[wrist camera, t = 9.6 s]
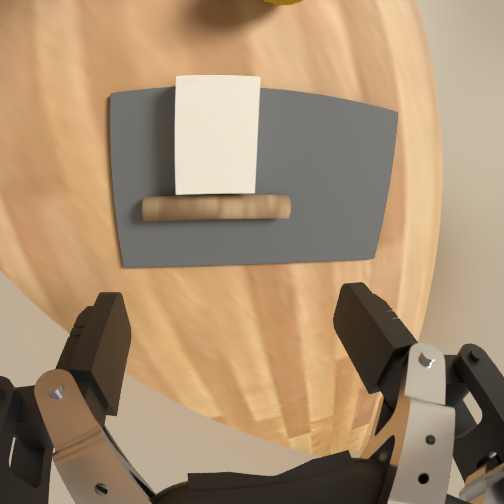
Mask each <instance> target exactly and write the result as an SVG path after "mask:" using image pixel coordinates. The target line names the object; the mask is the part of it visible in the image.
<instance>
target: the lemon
mask: <svg viewBox="0 0 504 504" xmlns="http://www.w3.org/2000/svg"><path fill="white" fill-rule="evenodd" d="M263 1H265V2H268V3H271V4H276V5H291V4H295V3H298V2H301V1H303V0H263Z"/></svg>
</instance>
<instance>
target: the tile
mask: <svg viewBox="0 0 504 504" xmlns="http://www.w3.org/2000/svg"><path fill="white" fill-rule="evenodd" d="M259 98H260V77H253V76H232V75H190V76H176V95H175V185H176V195H183V194H225V193H255V181H256V160H257V139H258V118H259Z"/></svg>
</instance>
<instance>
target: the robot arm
mask: <svg viewBox="0 0 504 504" xmlns="http://www.w3.org/2000/svg"><path fill="white" fill-rule="evenodd" d="M333 323H334V329H335V331H336V333H337V335H338V337H339V339H340V340H341V342H342V344H343V346H344V348H345V350H346V351H347V353H348V355H349V357H350V359H351V361H352V363H353V364H354V366H355V368H356V370H357V372H358V374H359V376H360V378H361V380H362V382H363V383H364V385H365V387H366V389H367V391H368V393H369V394H372V393H376V392H379V391H381V393H382V394H383V396H382V397H381V399H380V402H379V406H378V410H377V414H376V418H375V421H374V425H373V428H372V432H371V435H370V438H369V441H368V443H367V445H366V447H365V449H364V450H363V452H362V454H361V456H360V458H351V455H350V453H349V450H347V451H343V452H340V453H336V454H333V455H329V456H325V457H321V458H317V459H312V460H310V461H308V462H306V463H304V464H302V465H300V466H298V467H295V468H293V469H291V470H289V471H286V472H284V473H282V474H279V475H276V476H261V475H250V474H242V473H234V472H219V473H188V481H186V482H182V483H179V484H176V485H173V486H170V487H168V488H166V489H164V490H163V491H161V492H159V493H157V494H156V493H155V492H154V491H153V490H152V488H151V487H150V486H149V485H148V484H147V483H146V482H145V480H144V479H143V478H142V477H141V476H140V474H139V473H138V472H137V471H136V470H135V468H134V467H133V466H132V465H131V463H130V462H129V461H128V459H127V458H126V456H125V455H124V453H123V452H122V451H121V449H120V448H119V446H118V445H117V443H116V442H115V440H114V439H113V437H112V436H111V434H110V433H109V431H108V430H107V428H106V426H105V425H104V424H105V418H106V415H111V416H117V411H118V405H119V399H120V393H121V387H122V382H123V377H124V372H125V367H126V362H127V357H128V352H129V348H130V343H131V327H130V323H129V319H128V316H127V312H126V308H125V304H124V300H123V296H122V294H121V293H120V292H101V293H99V295H98V297H97V299H96V302H95V304H94V306H87V307H86V308H85V309H84V310H83V311H82V312H81V313H80V314H79V315H78V317H77V319H76V322H75V324H74V328H72V330H71V333H70V337H68V339H67V342H66V344H65V347H64V349H63V352H62V354H61V356H60V359H59V361H58V364H57V366H56V369H54V370H50V371H47V372H46V373H44V374H43V375H42V376H41V377H40V378H39V379H38V380H37V382H36V384H35V385H33V386H26V387H18V388H15V387H14V386H13V384H12V383H11V382H10V380H9V379H8V378H6V377H2V376H0V504H48V497H49V482H50V470H51V462H52V457H53V461H54V463H55V466H56V468H57V470H58V472H59V474H60V476H61V478H62V480H63V482H64V484H65V485H66V487H67V489H68V491H69V492H70V495H71V496H72V498H73V500H74V501H75V503H76V504H504V377H503V375H502V374H501V372H500V371H499V370H498V368H497V367H496V366H495V364H494V363H493V362H492V360H491V359H490V358H489V356H488V355H487V354H486V352H485V351H484V350H483V349H482V348H480V347H479V346H477V345H474V344H465V345H463V346H462V348H461V349H460V351H459V353H458V354H457V355H443V354H442V353H441V351H440V350H439V349H437V348H436V347H435V346H433V345H431V344H428V343H418V342H417V340H416V339H415V338H414V337H413V335H412V334H411V333H410V331H409V330H408V329H407V328H406V326H405V325H404V324H403V323H402V321H401V320H400V319H398V316H397V315H396V314H395V313H394V311H393V312H392V309H391V308H390V306H389V305H388V304H387V303H386V301H384V300H383V299H381V298H380V297H378V296H377V295H376V294H372V292H371V291H370V290H369V289H368V287H367V286H366V285H365V284H364V283H362V282H359V283H347V284H343V286H342V287H341V290H340V294H339V298H338V302H337V306H336V309H335V313H334V318H333ZM469 391H470V392H471V394H472V395H473V397H474V398H475V400H476V402H477V403H478V405H479V407H480V408H481V410H482V420H481V422H480V423H479V424H478V425H477V424H476V422H475V420H474V418H473V417H472V415H471V413H470V412H469V410H468V408H467V406H466V405H465V403H464V401H463V399H464V397H465V396H466V395H467V394H468V393H469ZM13 437H15V438H16V439H15V444H14V449H13V454H12V460H11V466H10V467H9V456H10V451H11V446H12V441H13ZM53 448H55V451H56V452H55V453H53ZM452 456H453V458H454V460H455V462H456V464H457V467H458V469H459V471H460V473H461V476H462V478H463V480H464V483H465V487H464V488H463V489H461V491H460V492H459V498H460V499H459V498H456V497H453V496H451V495H448V494H447V489H448V484H449V478H450V471H451V464H452Z"/></svg>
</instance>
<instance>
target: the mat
mask: <svg viewBox="0 0 504 504" xmlns="http://www.w3.org/2000/svg"><path fill="white" fill-rule="evenodd" d="M175 95H176V87H166V88H153V89H142V90H133V91H125V92H117V93H111V94H110V150H111V169H112V183H113V194H114V204H115V213H116V221H117V228H118V236H119V242H120V249H121V255H122V260H123V266H124V268H139V267H180V266H214V265H245V264H273V263H298V262H322V261H345V260H366V259H374V257H375V253H376V249H377V245H378V240H379V236H380V231H381V227H382V222H383V217H384V212H385V207H386V202H387V196H388V191H389V185H390V178H391V172H392V165H393V158H394V150H395V141H396V132H397V121H398V112H395V111H392V110H388V109H384V108H381V107H377V106H373V105H368V104H364V103H360V102H355V101H350V100H346V99H340V98H335V97H330V96H324V95H318V94H311V93H304V92H296V91H288V90H278V89H267V88H260V98H259V118H258V139H257V160H256V181H255V193H225V194H183V195H176V185H175ZM188 195H288V196H289V197H290V201H291V212H290V216H289V218H288V219H203V220H169V221H144V220H143V215H142V202H143V198H144V197H161V196H188Z"/></svg>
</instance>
